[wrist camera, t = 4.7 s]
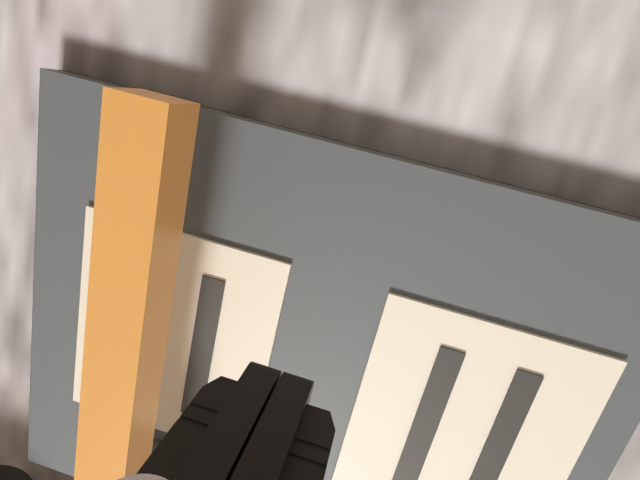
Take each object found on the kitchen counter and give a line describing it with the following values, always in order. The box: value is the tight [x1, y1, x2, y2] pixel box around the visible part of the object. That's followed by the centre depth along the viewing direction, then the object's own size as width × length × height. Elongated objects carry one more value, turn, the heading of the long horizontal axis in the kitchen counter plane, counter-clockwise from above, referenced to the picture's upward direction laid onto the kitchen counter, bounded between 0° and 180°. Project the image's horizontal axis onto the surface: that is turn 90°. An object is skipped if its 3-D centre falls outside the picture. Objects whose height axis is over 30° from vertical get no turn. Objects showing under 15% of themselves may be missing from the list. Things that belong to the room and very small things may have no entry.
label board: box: [28, 68, 640, 480], centre depth 19 cm, size 20×26×4 cm
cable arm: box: [74, 86, 200, 480], centre depth 16 cm, size 19×3×3 cm, turn 167°
